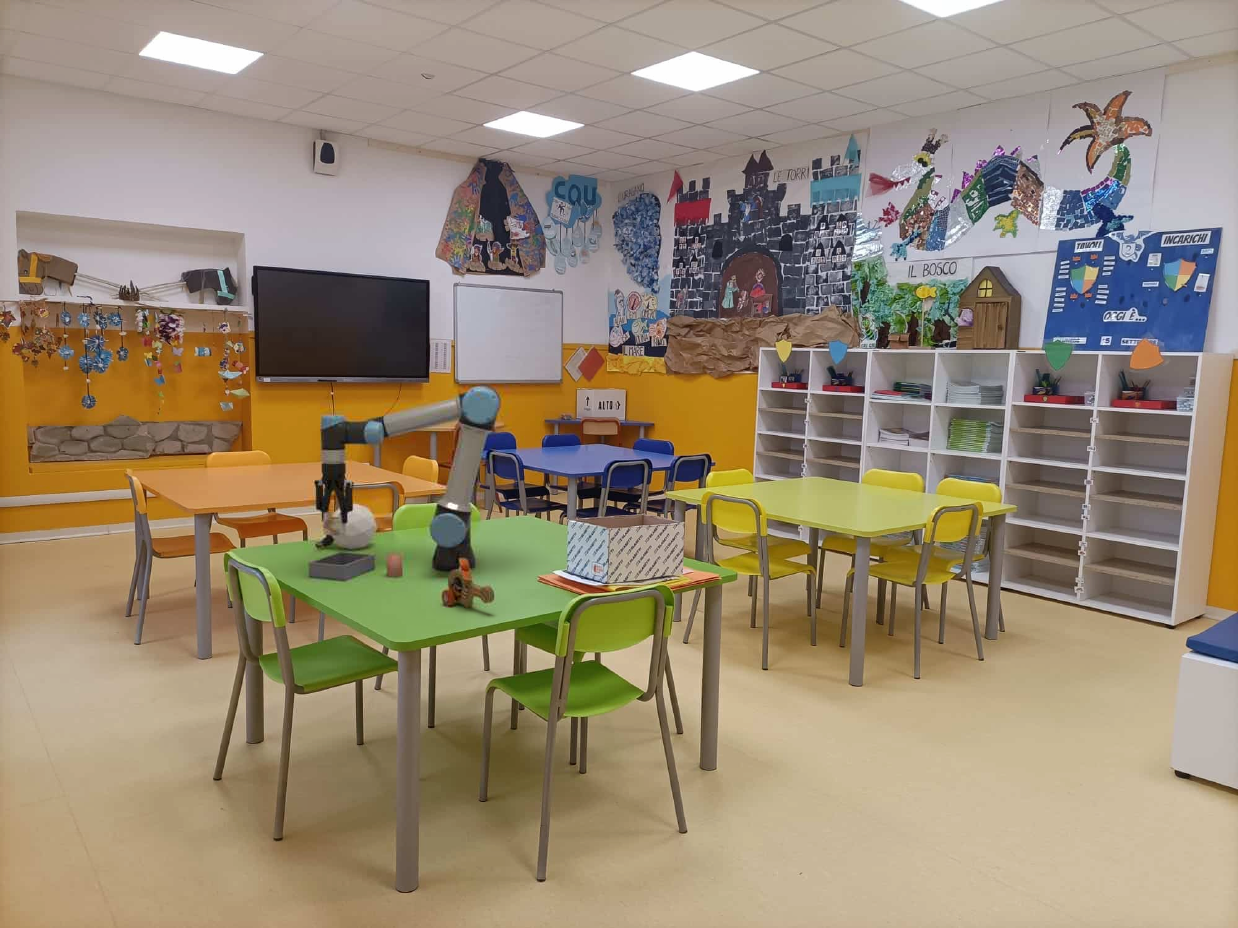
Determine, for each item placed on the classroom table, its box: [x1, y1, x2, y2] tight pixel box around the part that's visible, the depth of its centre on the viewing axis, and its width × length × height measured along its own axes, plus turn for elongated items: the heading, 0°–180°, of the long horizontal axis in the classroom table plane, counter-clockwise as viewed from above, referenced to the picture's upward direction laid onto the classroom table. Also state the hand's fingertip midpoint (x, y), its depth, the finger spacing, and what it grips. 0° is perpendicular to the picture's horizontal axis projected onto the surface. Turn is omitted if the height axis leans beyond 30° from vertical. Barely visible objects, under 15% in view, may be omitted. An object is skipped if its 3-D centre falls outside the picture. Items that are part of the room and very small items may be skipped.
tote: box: [308, 551, 376, 582], centre depth 292 cm, size 18×14×5 cm
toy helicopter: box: [441, 558, 495, 609], centre depth 253 cm, size 8×21×14 cm, turn 45°
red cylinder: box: [386, 553, 403, 579], centre depth 290 cm, size 5×5×7 cm
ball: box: [314, 495, 378, 551], centre depth 331 cm, size 17×25×24 cm
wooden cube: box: [322, 516, 346, 536], centre depth 286 cm, size 5×5×5 cm
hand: (334, 532), depth 287 cm, fingers closed on wooden cube, 5 cm apart
